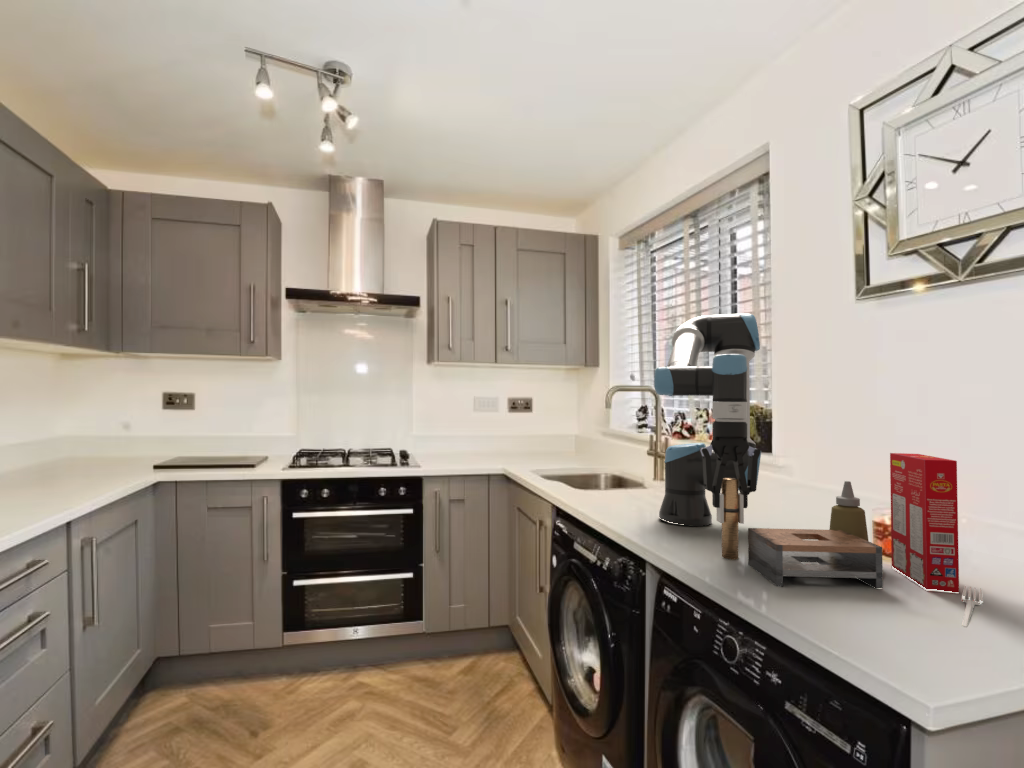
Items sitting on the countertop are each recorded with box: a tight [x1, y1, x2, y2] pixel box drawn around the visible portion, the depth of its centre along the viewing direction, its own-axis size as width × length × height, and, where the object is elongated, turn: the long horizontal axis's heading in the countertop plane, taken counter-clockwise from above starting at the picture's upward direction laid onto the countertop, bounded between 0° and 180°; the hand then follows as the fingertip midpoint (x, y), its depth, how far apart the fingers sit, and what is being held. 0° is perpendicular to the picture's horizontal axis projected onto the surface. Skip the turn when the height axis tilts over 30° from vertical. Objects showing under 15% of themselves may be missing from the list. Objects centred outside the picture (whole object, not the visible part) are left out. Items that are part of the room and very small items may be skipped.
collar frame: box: [747, 527, 884, 589], centre depth 111 cm, size 14×20×8 cm
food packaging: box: [889, 452, 960, 593], centre depth 109 cm, size 15×5×25 cm, turn 167°
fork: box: [961, 585, 984, 628], centre depth 93 cm, size 3×20×2 cm, turn 136°
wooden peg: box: [721, 478, 740, 561], centre depth 124 cm, size 4×4×18 cm
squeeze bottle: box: [828, 480, 870, 542], centre depth 122 cm, size 8×8×18 cm
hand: (729, 521), depth 124 cm, fingers closed on wooden peg, 4 cm apart
